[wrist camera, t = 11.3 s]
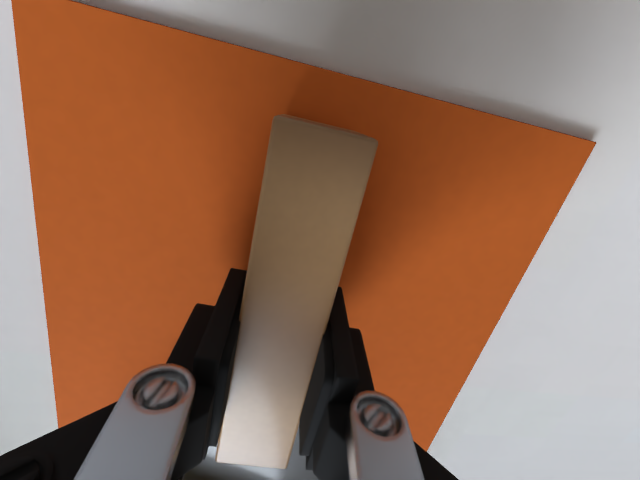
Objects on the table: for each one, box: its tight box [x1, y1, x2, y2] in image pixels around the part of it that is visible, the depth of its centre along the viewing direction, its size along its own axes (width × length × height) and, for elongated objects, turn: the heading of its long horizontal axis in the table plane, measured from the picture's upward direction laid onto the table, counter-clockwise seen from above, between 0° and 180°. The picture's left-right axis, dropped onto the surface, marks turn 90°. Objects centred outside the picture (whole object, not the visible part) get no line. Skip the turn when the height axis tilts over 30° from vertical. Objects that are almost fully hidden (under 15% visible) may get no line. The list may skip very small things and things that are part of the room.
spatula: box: [185, 114, 378, 480], centre depth 11 cm, size 16×7×3 cm, turn 167°
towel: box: [11, 0, 596, 452], centre depth 13 cm, size 22×16×1 cm
